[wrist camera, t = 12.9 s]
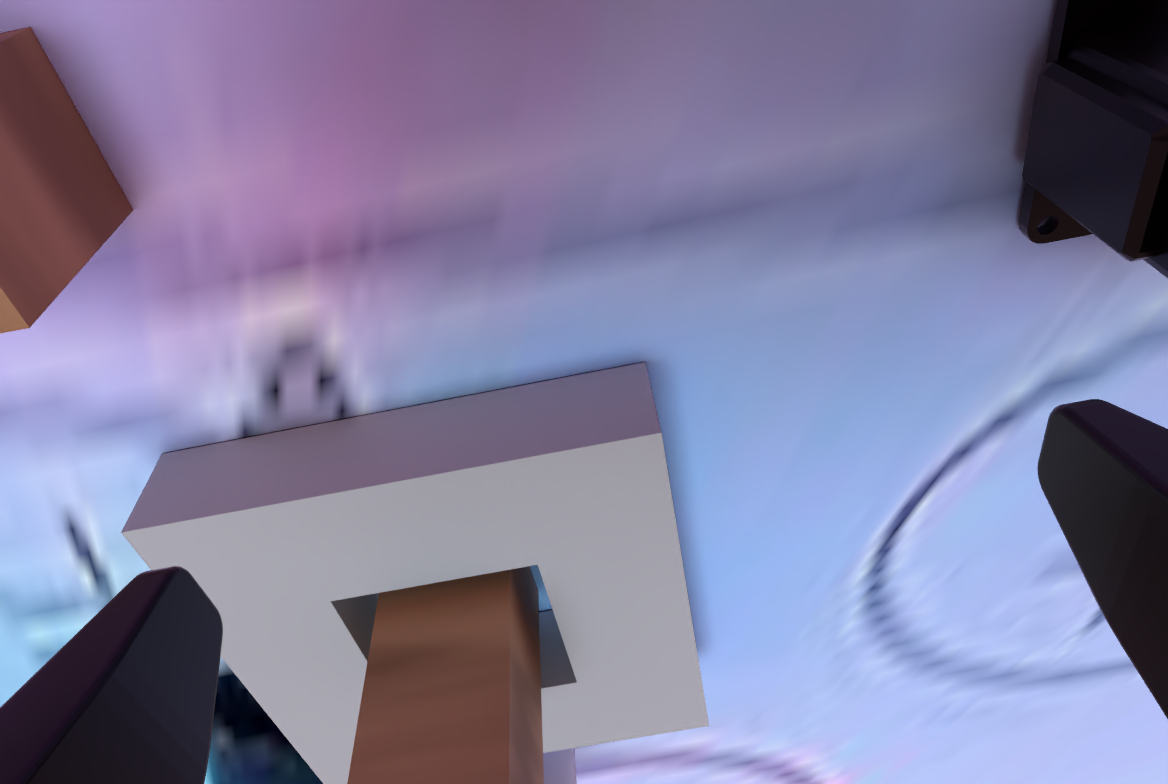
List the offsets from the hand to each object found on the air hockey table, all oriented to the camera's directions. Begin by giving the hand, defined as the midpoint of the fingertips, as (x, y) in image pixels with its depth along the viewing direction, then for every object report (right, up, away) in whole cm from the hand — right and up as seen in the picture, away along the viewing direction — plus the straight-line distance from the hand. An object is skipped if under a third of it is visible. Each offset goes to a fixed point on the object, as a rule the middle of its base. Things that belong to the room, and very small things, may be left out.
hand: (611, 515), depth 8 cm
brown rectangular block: (-4, -4, +18) cm, 19 cm away
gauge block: (-4, -7, +20) cm, 21 cm away
